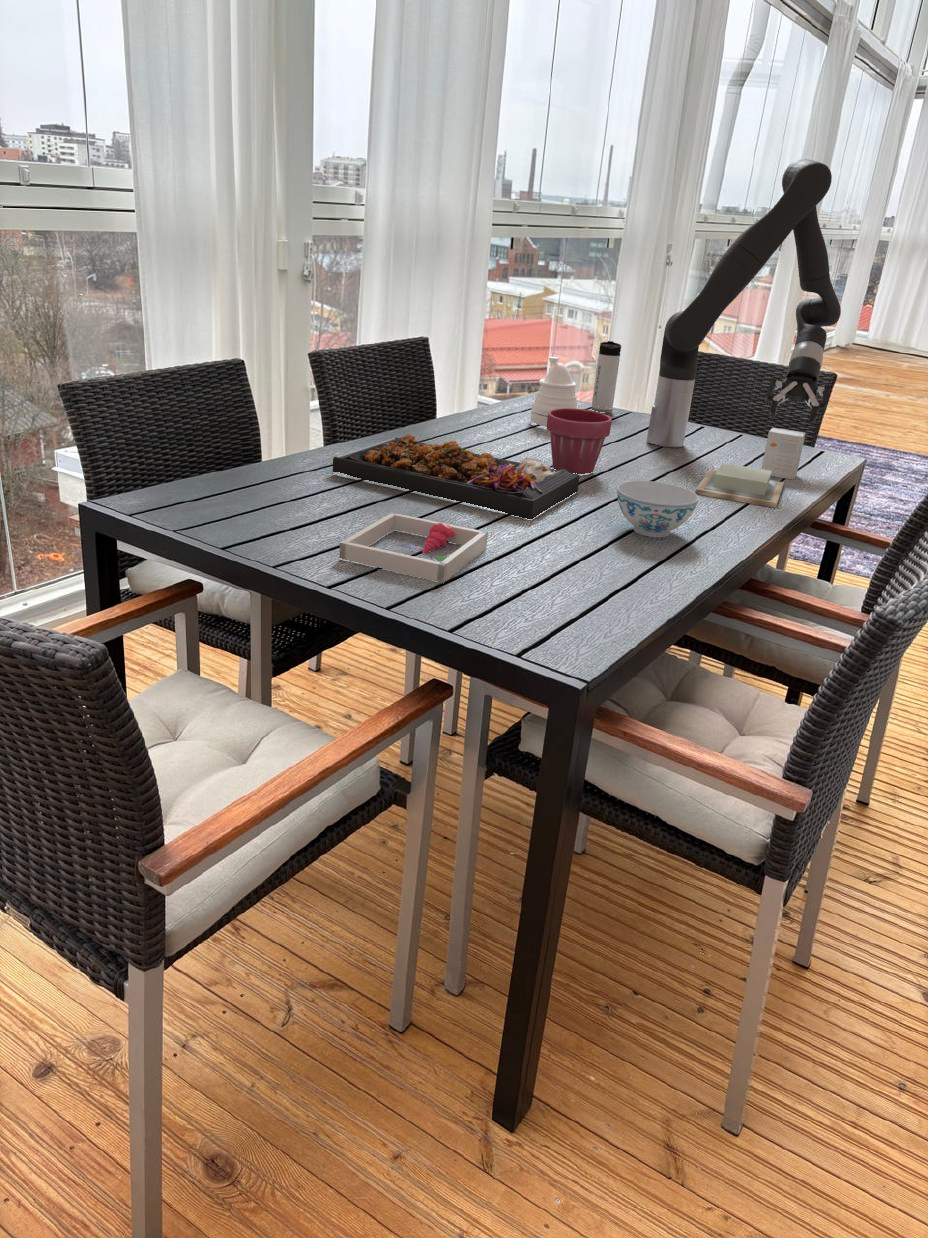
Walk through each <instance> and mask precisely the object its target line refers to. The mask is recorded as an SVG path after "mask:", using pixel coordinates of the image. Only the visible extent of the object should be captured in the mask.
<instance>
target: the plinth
mask: <svg viewBox="0 0 928 1238" xmlns="http://www.w3.org/2000/svg"><path fill="white" fill-rule="evenodd" d="M716 471H717V472H716V474H715V478H714V483H713V487H718V488H724V489H730V490H736V491H741V492H747V493H753V494H758V495H765V492H766V490H767V487H768V485H769V482H770V480H771V477H772V476H771V473H772V471H769V470H762V469H760V468H757V467H756V468H755V467H749V466H743V465H738V464H737V465H736V464H731V463H727V462H726V463H725V462H721V464H720V466H719V467H718V469H717V470H716Z"/></svg>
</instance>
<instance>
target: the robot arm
mask: <svg viewBox="0 0 928 1238" xmlns="http://www.w3.org/2000/svg"><path fill="white" fill-rule="evenodd" d="M832 175H833V174H832V172H831V169H830V168H829V166H827V165H826V164H825V163H823V162H820V161H815V160H814V159H813V160H812V159H807V158H801V159H797V160H794V161H792V162H791V163H790V164H789V165H788V166H787V167H786V168H785V170H784V172H783V175H782V178H781V187H782V192H783V194H782V196H781V197H780V199H778V201H777V202H776V203H775V205H773V207H772V208H771V209H770V210H769V211H768V212H767V213H766V214H764V215H763V216H762V217H761V218H759V219H758V220H757V221H755V222H753V224H752V225H750V226H749V227H748V228H747V229H745V230H744V231H743V232H741V234H740V235H738V236H737V238H736V239H735V240H734V242H732V244H731V245H729V247H728V248H727V250H726V251H725V253H723V255H721V258H720V259H719V261H718V263H716V266H715V267H714V269H713V271H712V272H711V274H710V276H709V278H708V280H707V282H706V283H705V285H704V286H703V288H702V290H701V291H700V292H699V294H698V295H697V296H696V297H695V298H694V299H693V301H692V302H690V303H689V305H688V306H687V307H686V308H685V309H684V310H681V311H677V312H675V313H674V314H672V315H671V316H669V319H668V320H667V321H666V324H665V328H664V331H663V338H662V344H661V351H660V352H661V353H660V359H659V371H658V379H657V383H656V390H655V396H654V405H652V406H651V411H650V417H649V423H648V429H647V430H648V431H647V436H646V443H648V444H653V445H654V444H655V446H658V445H659V447H665V448H681V447H684V443H685V439H686V432H687V427H688V422H689V418H690V417H689V416H690V411H691V405H692V399H693V394H694V387H695V381H696V376H697V369H698V368H697V362H698V353H699V346H700V345H701V344H702V342H703V341H704V340H705V338H706V337H707V335H708V334H709V332H710V331H711V329H712V328H713V326H714V325H715V323H716V322H717V320H718V319H719V318H720V316H721V315H722V314H723V312H724V311H725V310H726V309H727V308H728V306H729V305H730V304H732V302H733V301H734V300H735V299H736V298H737V297H738V296H739V295H740V294H741V292H742V291H744V289H745V288H746V287H748V285H749V284H750V283H751V281H753V279H754V278H755V277H756V276H757V274H758V273H759V272H760V271H761V270H762V268H763V267H765V265H766V263H767V262H768V261H769V260H770V259H771V257H772V256H773V254H775V252H776V251H777V250H778V248H780V246H781V245H782V244H783V242H785V240H786V239H787V237H788V236H789V235H790V234H791V232H792V231H793V236H794V243H795V244H794V245H795V249H796V250H795V251H796V259H797V268H798V279H799V286H800V289H801V290H802V291H803V292H807V293H813V294H816V295H818V296H819V297H815V298H808V299H804V300H802V301H801V302H799V304H797V306H796V308H795V309H796V310H795V319H796V326H797V327H796V330H797V332H796V340H795V343H794V348H793V350H792V352H791V354H790V359H789V362H788V367H787V372H786V374H785V378H784V380H783V381H782V380H781V381H780V380H778V379H777V378H776V377H772V378H771V380H770V381H769V385H768V388H767V392H766V394H765V403H766V404H770V405H771V406H770V410H769V416H770V417H771V419H773V420H774V419H776V415H777V411H778V408H779V407H778V406H779V405H780V404H783V403H784V402H786V401H787V400H789V401H793V402H794V401H797V402H799V403H803V402H805V403H806V404H807V406H808V407H810V409H811V411H810V413H809V418H808V425H812V423H815V422H816V419H817V414H818V412H819V411H822V412H825V411H826V410H827V407H828V402H829V395H830V390H831V386H830V385H829V384H825V385H824V386H819V385H818V382H819V376H820V374H821V373H820V372H821V369H822V364H823V359H824V351H825V346H826V342H827V337H828V335H827V331H826V330H825V329H824V327H830V326H834V325H836V324H837V323H838V322H839V320H840V318H841V313H842V310H841V304H840V301H839V299H838V297H837V295H836V292H835V289H834V286H833V283H832V280H831V276H830V275H831V274H830V264H829V254H828V249H827V245H826V242H825V238H824V236H823V232H822V230H821V226H820V223H819V222H820V221H819V218H818V211H817V205H819V203H821V201H823V199H824V198H825V196H827V194H828V192H829V190H830V187H831V185H832V180H833V179H832V178H833V176H832ZM779 388H781V390H780V392H779V393H778V394H776V395H775V396H773V395H774V392H775V391H777V390H778V389H779ZM817 393H819V396H820V397H821V398H822V399H821V402H818V400H817V398H816V395H815V394H817Z"/></svg>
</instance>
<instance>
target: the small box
mask: <svg viewBox="0 0 928 1238" xmlns="http://www.w3.org/2000/svg"><path fill="white" fill-rule="evenodd" d="M805 437H806V432H804V431H797V430H790V429H785V428H777V427H771V429H770V430H769V431H768V434H767V439H766V443H765V450H764V453H763V454H764V455H763V459H762V463H761V464H762V465H761V469H762V470H769V471H772V473H771V477H774V476H775V477H774V478H781V479H787V480H791V481H792V480H795V478H796V476H797V474H798V471H799V466H800V460H801V457H802V452H803V447H804V442H805Z"/></svg>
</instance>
